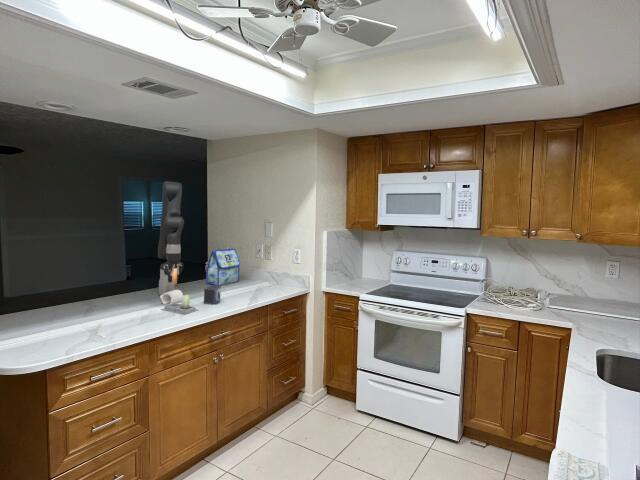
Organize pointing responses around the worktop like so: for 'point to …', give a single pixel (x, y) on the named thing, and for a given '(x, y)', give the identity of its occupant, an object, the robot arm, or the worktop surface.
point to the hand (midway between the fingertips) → (173, 281)
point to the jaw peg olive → (185, 301)
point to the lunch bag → (223, 267)
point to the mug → (172, 297)
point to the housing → (178, 309)
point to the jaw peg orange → (174, 277)
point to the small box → (212, 295)
